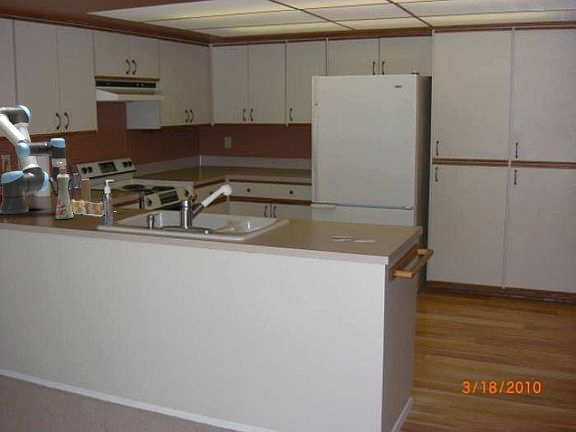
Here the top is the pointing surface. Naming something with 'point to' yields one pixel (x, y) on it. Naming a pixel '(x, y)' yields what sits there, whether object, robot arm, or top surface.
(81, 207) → the fence panel
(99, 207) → the fence fixed leg
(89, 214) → the board
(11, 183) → the robot arm
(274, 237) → the top surface
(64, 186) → the bottle
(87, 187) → the wooden block
